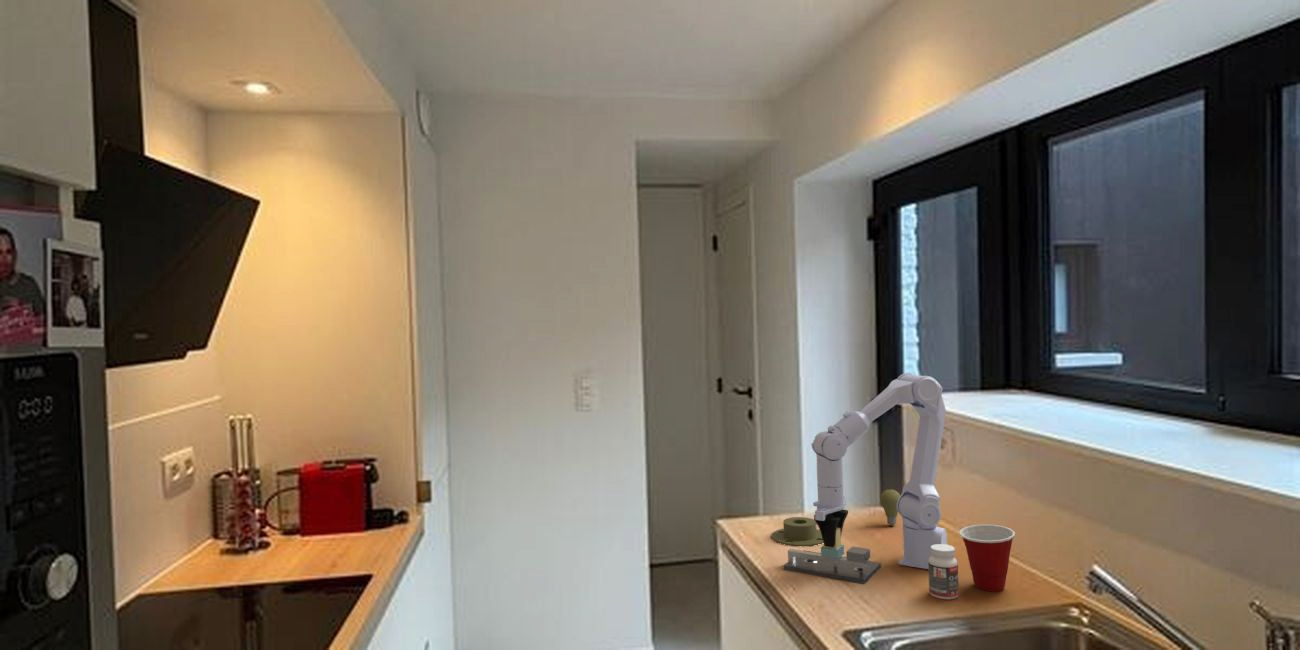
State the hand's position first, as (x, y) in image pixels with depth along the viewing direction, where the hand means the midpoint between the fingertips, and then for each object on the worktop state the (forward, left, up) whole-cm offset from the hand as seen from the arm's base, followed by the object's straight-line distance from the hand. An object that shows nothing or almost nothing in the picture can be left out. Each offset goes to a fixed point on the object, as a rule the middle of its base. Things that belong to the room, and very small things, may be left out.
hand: (832, 544), depth 166 cm
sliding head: (0, 0, -5) cm, 5 cm away
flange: (+17, -20, -7) cm, 27 cm away
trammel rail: (+1, 0, -5) cm, 5 cm away
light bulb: (-1, -41, -7) cm, 42 cm away
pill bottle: (-24, +2, -7) cm, 25 cm away
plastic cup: (-31, -7, -7) cm, 33 cm away
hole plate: (+1, -2, -6) cm, 7 cm away
